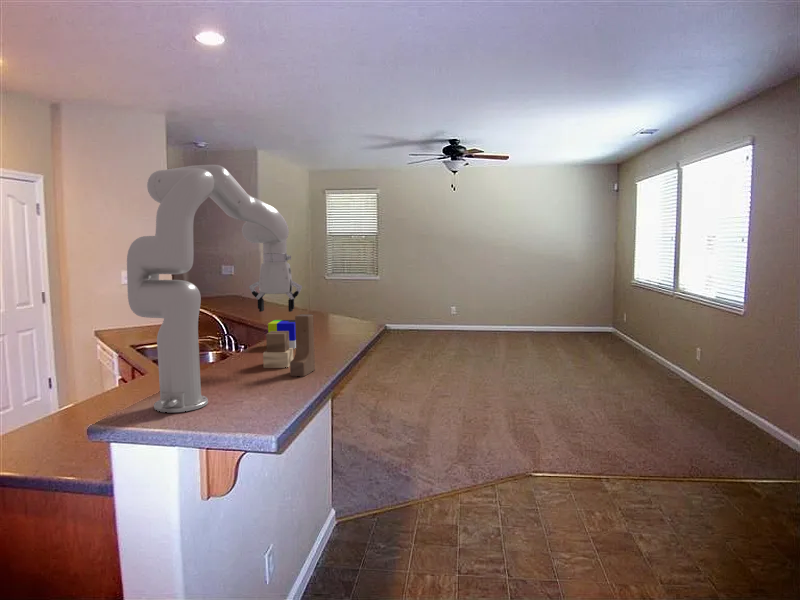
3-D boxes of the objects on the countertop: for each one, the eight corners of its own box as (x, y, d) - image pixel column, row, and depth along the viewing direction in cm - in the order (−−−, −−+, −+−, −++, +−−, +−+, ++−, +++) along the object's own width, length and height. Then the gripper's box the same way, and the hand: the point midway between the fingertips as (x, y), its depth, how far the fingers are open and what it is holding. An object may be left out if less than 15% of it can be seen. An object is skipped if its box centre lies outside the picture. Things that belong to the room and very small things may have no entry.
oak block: (287, 367, 180) (287, 352, 179) (263, 367, 180) (263, 352, 180) (293, 362, 188) (293, 348, 187) (270, 362, 188) (269, 348, 188)
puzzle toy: (294, 349, 212) (294, 323, 211) (268, 349, 212) (268, 323, 211) (299, 344, 222) (299, 319, 221) (275, 344, 222) (274, 320, 221)
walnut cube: (285, 352, 180) (284, 334, 180) (266, 352, 181) (266, 334, 180) (289, 348, 186) (288, 331, 186) (271, 348, 187) (271, 331, 186)
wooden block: (303, 377, 167) (302, 318, 165) (290, 376, 168) (288, 317, 166) (315, 370, 176) (313, 314, 174) (302, 369, 177) (300, 314, 175)
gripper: (303, 259, 184) (304, 310, 185) (252, 259, 184) (253, 310, 186) (298, 259, 176) (299, 312, 178) (245, 259, 177) (246, 312, 178)
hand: (276, 311), depth 182 cm, fingers open, 9 cm apart
